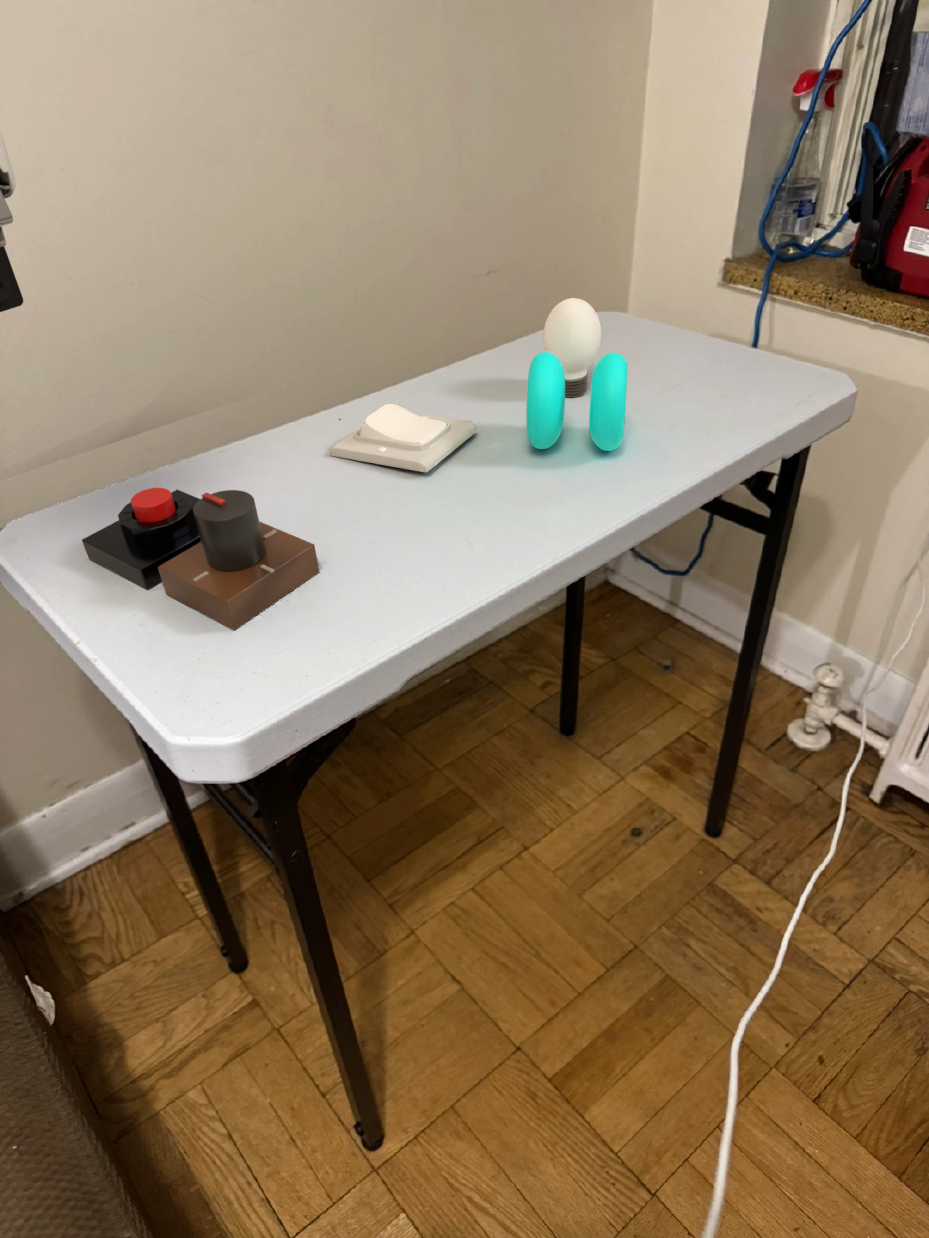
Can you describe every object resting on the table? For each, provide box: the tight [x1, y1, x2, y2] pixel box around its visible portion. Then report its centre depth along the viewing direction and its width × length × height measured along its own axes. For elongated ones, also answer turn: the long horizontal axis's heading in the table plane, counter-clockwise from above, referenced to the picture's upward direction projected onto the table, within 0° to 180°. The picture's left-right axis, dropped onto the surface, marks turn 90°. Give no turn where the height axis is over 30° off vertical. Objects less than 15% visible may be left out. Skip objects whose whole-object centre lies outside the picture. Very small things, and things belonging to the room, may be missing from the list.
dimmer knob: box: [193, 489, 266, 571], centre depth 73 cm, size 5×5×5 cm
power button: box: [130, 487, 176, 522], centre depth 79 cm, size 4×4×2 cm
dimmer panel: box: [158, 520, 320, 631], centre depth 76 cm, size 10×9×3 cm
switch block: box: [81, 489, 202, 591], centre depth 81 cm, size 11×9×4 cm
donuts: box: [525, 351, 628, 452], centre depth 91 cm, size 10×10×10 cm
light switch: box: [329, 403, 478, 473], centre depth 95 cm, size 11×4×13 cm
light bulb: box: [543, 297, 602, 398], centre depth 102 cm, size 7×7×11 cm
